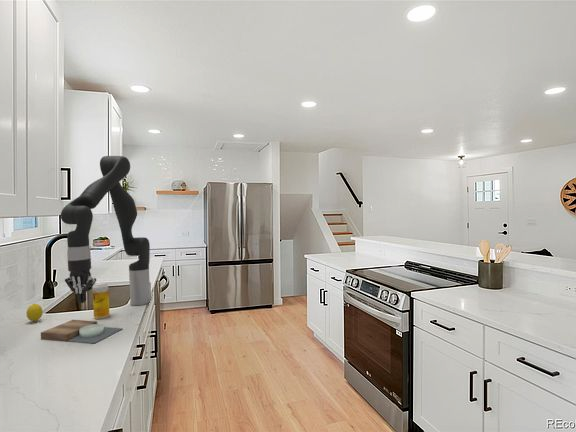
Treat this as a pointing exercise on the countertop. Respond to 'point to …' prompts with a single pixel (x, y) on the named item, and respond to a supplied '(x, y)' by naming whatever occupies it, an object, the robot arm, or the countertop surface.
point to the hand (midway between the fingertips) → (81, 302)
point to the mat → (107, 332)
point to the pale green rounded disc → (91, 330)
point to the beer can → (101, 300)
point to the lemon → (34, 312)
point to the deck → (65, 330)
